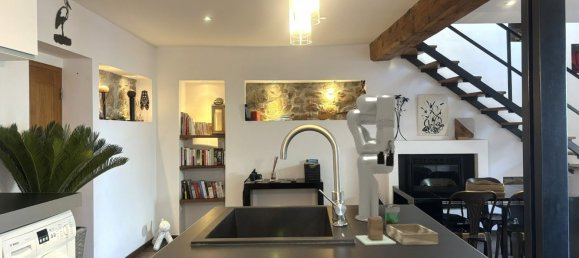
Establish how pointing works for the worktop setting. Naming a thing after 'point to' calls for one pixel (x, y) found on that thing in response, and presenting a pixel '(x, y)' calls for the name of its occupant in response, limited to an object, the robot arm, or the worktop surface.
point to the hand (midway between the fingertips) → (385, 165)
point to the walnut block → (375, 228)
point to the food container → (391, 214)
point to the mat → (367, 241)
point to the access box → (412, 234)
